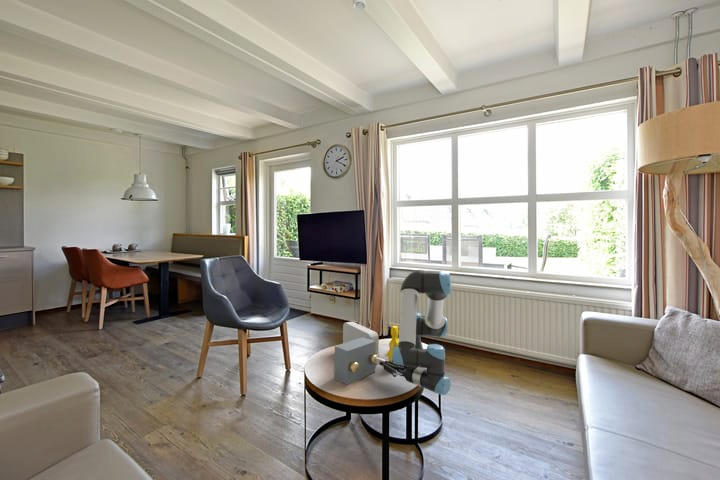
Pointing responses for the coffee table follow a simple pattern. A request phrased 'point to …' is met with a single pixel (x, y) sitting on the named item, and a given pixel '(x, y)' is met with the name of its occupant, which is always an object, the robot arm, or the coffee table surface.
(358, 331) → the rounded white slab
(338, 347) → the knob housing
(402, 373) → the robot arm
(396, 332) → the figure statuette
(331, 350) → the coffee table surface
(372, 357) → the knob
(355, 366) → the knob
